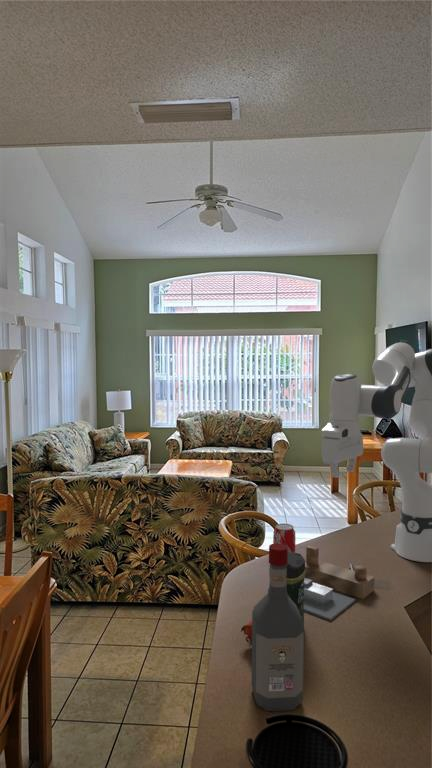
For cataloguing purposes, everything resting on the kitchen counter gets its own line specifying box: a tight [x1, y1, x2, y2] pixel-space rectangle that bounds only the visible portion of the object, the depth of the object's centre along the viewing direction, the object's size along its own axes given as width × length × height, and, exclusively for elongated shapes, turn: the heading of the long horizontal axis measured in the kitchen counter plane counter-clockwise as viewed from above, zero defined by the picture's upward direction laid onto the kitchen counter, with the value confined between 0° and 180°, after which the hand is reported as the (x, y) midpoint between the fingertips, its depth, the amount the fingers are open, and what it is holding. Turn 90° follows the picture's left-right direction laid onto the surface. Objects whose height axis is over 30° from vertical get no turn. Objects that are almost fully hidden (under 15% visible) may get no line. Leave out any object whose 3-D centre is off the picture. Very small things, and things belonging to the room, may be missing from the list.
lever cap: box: [304, 578, 334, 606], centre depth 143 cm, size 9×5×4 cm, turn 49°
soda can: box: [272, 523, 296, 553], centre depth 168 cm, size 7×7×12 cm
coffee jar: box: [268, 551, 306, 623], centre depth 127 cm, size 10×8×19 cm
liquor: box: [251, 543, 305, 712], centre depth 102 cm, size 9×9×30 cm
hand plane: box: [305, 545, 375, 600], centre depth 152 cm, size 20×7×9 cm, turn 49°
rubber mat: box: [304, 591, 357, 622], centre depth 143 cm, size 14×18×1 cm
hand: (343, 474), depth 157 cm, fingers open, 8 cm apart
